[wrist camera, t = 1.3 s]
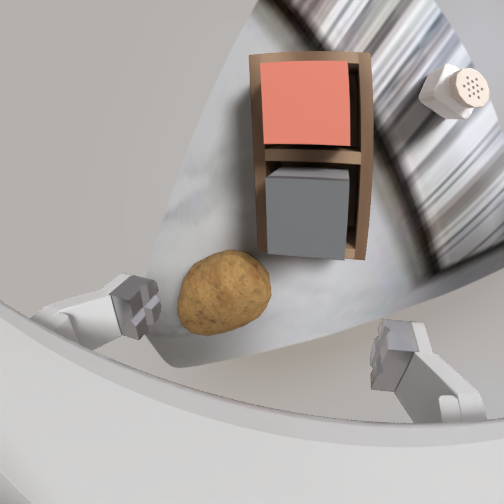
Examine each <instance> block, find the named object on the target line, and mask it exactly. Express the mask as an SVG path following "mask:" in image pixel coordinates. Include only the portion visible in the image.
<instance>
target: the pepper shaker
mask: <svg viewBox="0 0 504 504" xmlns="http://www.w3.org/2000/svg"><path fill="white" fill-rule="evenodd" d="M488 98H489V88H488V85H487V82H486V80H485V79H484V78H483V76H482V75H481V74H480V73H479V72H478V71H475V70H473V69H471V68H466V69H461V70H460V69H458V68H456V67H455V66H453V65H451V64H445V65H443V66H441V67H439V68H438V69H436V70H434V71H432V72H430V73H429V74H428V76H427V78H426V80H425V83H424V85H423V87H422V89H421V91H420V94H419V101H420V102H421V103H422V104H424V105H425V106H427V107H428V108H430V109H431V110H433V111H434V112H436V113H437V114H438V115H440V116H441V117H443V118H445V119H467V118H468V117H469V116H470V115H471V113H472V111H473V109H474V108H477V107H483V106H484V105H485V104H486V102H487V101H488Z"/></svg>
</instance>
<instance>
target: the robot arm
mask: <svg viewBox="0 0 504 504" xmlns="http://www.w3.org/2000/svg"><path fill="white" fill-rule="evenodd" d="M157 292H158V286H157V283H156V282H155V281H154V280H151V279H147V278H143V277H138V276H135V275H131V274H126V273H121V274H120V275H118V276H117V277H116V278H115V279H113V280H112V281H111V282H109V283H108V284H107V285H106V286H105V287H103V288H102V289H101V290H99V291H98V292H97V291H93V292H90V293H86V294H83V295H80V296H76V297H73V298H69V299H66V300H62V301H59V302H55V303H52V304H49V305H46V306H45V307H44V308H43V309H41V310H40V311H39V312H37V313H36V314H35V315H34V316H32V317H31V318H28V317H26V316H25V315H23V314H21V313H19V312H17V311H16V310H15V309H13V308H11V307H10V306H8V305H6V304H5V303H3V302H2V301H0V504H504V418H498V419H490V420H487V417H486V413H485V409H484V406H483V402H482V399H481V395H480V393H479V392H477V390H476V389H474V388H473V387H472V386H471V385H470V384H469V383H468V382H467V381H466V380H465V379H464V378H463V377H462V376H461V375H460V374H459V373H457V372H456V371H455V370H454V369H453V368H452V367H451V366H450V365H449V364H448V363H447V362H446V361H444V360H443V359H442V358H441V357H440V356H439V355H438V354H434V353H433V351H432V347H431V344H430V341H429V337H428V334H427V331H426V328H425V324H424V323H423V322H414V321H399V320H389V319H382V320H381V322H380V324H379V327H378V334H379V336H377V337H376V338H375V339H374V342H373V345H372V350H371V355H370V365H371V366H372V368H373V370H372V372H371V389H373V390H381V391H391V392H394V393H395V395H396V396H397V398H398V399H399V401H400V402H401V404H402V405H403V407H404V408H405V410H406V411H407V413H408V414H409V416H410V417H411V419H412V420H413V422H414V423H385V422H369V421H368V422H367V421H356V420H346V419H345V420H344V419H336V418H328V417H321V416H313V415H307V414H300V413H294V412H289V411H283V410H278V409H273V408H268V407H264V406H259V405H254V404H250V403H246V402H241V401H237V400H233V399H229V398H225V397H222V396H218V395H214V394H210V393H207V392H203V391H200V390H197V389H193V388H190V387H187V386H183V385H180V384H177V383H174V382H171V381H168V380H165V379H162V378H159V377H156V376H153V375H151V374H148V373H146V372H143V371H140V370H138V369H135V368H131V367H130V366H127V365H125V364H122V363H120V362H117V361H115V360H112V359H110V358H108V357H106V356H103V355H101V354H99V353H96V352H94V351H92V350H94V349H96V348H98V347H100V346H102V345H104V344H106V343H108V342H110V341H112V340H114V339H115V338H118V337H120V336H121V335H124V336H127V337H130V338H134V339H137V340H140V339H141V338H142V336H143V335H144V334H145V333H146V332H147V331H148V325H150V324H153V323H155V321H156V320H157V319H158V317H159V314H160V312H161V303H160V300H159V298H158V297H157V295H156V294H157Z"/></svg>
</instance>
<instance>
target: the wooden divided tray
mask: <svg viewBox="0 0 504 504" xmlns="http://www.w3.org/2000/svg"><path fill="white" fill-rule="evenodd" d="M285 61H348V75H349V97H350V146H342V145H320V144H264V135H263V113H262V92H261V72H260V63H269V62H285ZM249 69H250V89H251V109H252V129H253V150H254V171H255V193H256V216H257V239H258V251H261V252H268V248H267V215H266V185H265V178H266V177H267V176H269V175H270V174H272V173H273V172H274V171H276V170H277V169H279V168H280V167H281V166H296V167H322V168H341V169H348V172H349V204H348V221H347V235H346V247H345V258H344V259H356V260H365V255H366V247H367V238H368V228H369V217H370V205H371V190H372V170H373V89H372V70H371V57H370V53H359V52H338V51H302V52H280V53H266V54H255V55H249Z"/></svg>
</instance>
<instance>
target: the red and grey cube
mask: <svg viewBox="0 0 504 504" xmlns="http://www.w3.org/2000/svg"><path fill="white" fill-rule="evenodd" d="M260 72H261V92H262V113H263V135H264V144H320V145H342V146H350V97H349V75H348V61H285V62H269V63H260Z"/></svg>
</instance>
